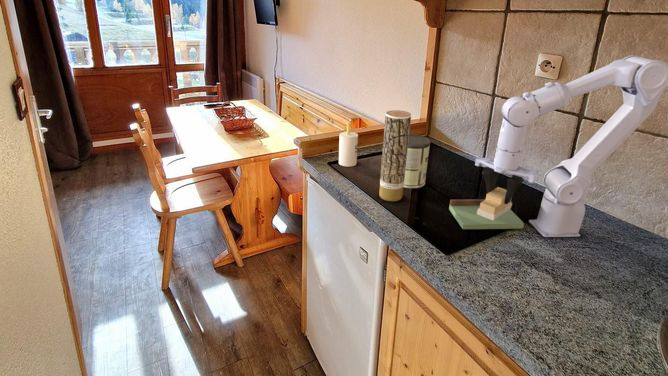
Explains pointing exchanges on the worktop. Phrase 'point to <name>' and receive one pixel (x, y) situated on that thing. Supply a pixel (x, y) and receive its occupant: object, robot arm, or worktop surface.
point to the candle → (348, 148)
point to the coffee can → (416, 161)
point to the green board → (471, 220)
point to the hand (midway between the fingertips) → (498, 199)
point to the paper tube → (394, 154)
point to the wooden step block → (494, 204)
